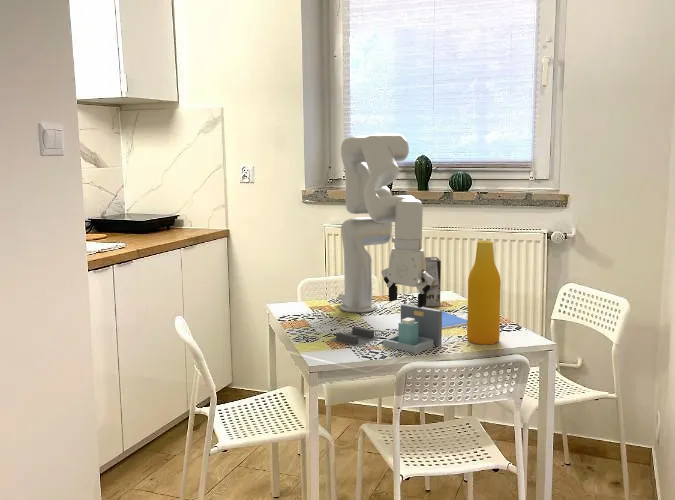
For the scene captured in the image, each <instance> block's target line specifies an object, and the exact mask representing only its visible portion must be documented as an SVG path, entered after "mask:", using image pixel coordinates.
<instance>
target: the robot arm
mask: <svg viewBox="0 0 675 500" xmlns="http://www.w3.org/2000/svg"><path fill="white" fill-rule="evenodd" d="M409 151H410V147H409V143H408V141H407V138H406V137H405V136H404V135H403V134H400V133H375V134H369V135H355V136H349V137H347V138H344V140H343V141H342V143H341V146H340V157H341V161H342V164H343V168H344V172H345V207H346V208H345V209H346V211H347V212H348V213H349V214H352V215H369V216H368V217H366V216H363V217H352V218H349V219H346V220H344V221H343V222H342V224H341V227H340V234H341V239H342V247H343V263H344V264H343V270H344V271H343V272H344V273H343V274H344V275H343V276H344V293H339V294H338V295H337V297H336V299H337V301H342V302H341V304H339V305H340V310H342V311H344V312H348V313H369V312H373V311H375V310H377V303H375V302H373V263H372V262H373V260H372V256H371V254H370V253H369V251H368V250H367V249H366V248H365V247H366V246H375V245H385V244H388V243H389V242H391V243H394V247H392V248H391V251H390V255H389V262H388V267H386V268H385V269H383V270H381V272H380V273H381V275H382V278H383V281H384V282H385V284H386V287H387V288H388V302H394V301H396V300H397V299H398V286H397V285H402V286H405V287H412V288H415V287H416V289H417V290H418V292H419V293H418V294H417V306H418V308H421V307H426V306H425V305H426V301H427V292H428V291H429V290H430V289H431V288H432V286H433V284H434V283H435V279H434V278H433V277H432V276H431V275H429V274H428V273H427V272H426V263H425V257H426V256H425V250H424V249H423V248H422V247H423V216H424V215H423V210H424V207H423V203H422V201H421V200H420V199H416V198H415V197H414V196H412V195H407V194H406V195H405V194H404V195H403V194H402V195H393V194H392V192H391V190H390V188H389V187H388V186H389V185H391V184H392V183H394V181H396V180H397V178H398V176H399V175H400V168H399V165H398V163H397V162H403V161H406V159H407V158H408V156H409V153H410V152H409ZM393 223H394V237H392V234H393ZM426 280H427V281H428V283H427V285H426V284H425V281H426Z"/></svg>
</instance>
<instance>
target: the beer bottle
mask: <svg viewBox="0 0 675 500" xmlns="http://www.w3.org/2000/svg"><path fill="white" fill-rule="evenodd" d="M475 251H476V252H475V259H474V263H473V266H472V268H471V269H470V271H469V275H468V278H467V319H466V320H467V325H466V326H467V327H466V338H467V340H468V342H470V343H473V344H477V345H494V344H496V342H497V343H498V342H499V339H500V332H501V329H500V327H501V325H500V324H501V322H500V319H501V316H500V315H501V285H502V282H501V276H500V272H499V270H498V267H497V266H496V262H495V255H494V253H495V252H494V242H493V241H492V240H478V241H477V243H476V250H475Z"/></svg>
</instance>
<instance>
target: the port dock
mask: <svg viewBox="0 0 675 500" xmlns="http://www.w3.org/2000/svg"><path fill="white" fill-rule="evenodd" d="M436 309H437V308H430V307H426V306H424V307H421V308H418V305H412V304H406V303H402V304H401V305H400V322H402V320H403V319H405V318H414V319H415V322H418V344H417V345H410V344H405V343H401V342H399V336H398V334H395V335H393V336H390V337H388V338H385V339H383V340H382V341H383V342H382V346H384V347H387V348H392V349H395V350H396V349H397V350H402V351H405V352H409V353H410V354H415V355H417V354H419V353H421V352H424V351H426V350H428V349H430V348H432V347H434V345H435V346H439V347H440V346H441V345H442V343H443V342H442V336H443V331H442V330H443V329H442V311H443V310H441V309H438V310H436Z"/></svg>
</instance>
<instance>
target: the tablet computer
mask: <svg viewBox="0 0 675 500" xmlns="http://www.w3.org/2000/svg"><path fill="white" fill-rule="evenodd" d="M435 309H436V310H439V309H437V308H435ZM467 320H468V319H466V318H462V317H459V316H457V315H454V314H451V313H448V312H445V311H443V310H442V330H447V329H453V328H458V327H464V326H467Z"/></svg>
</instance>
